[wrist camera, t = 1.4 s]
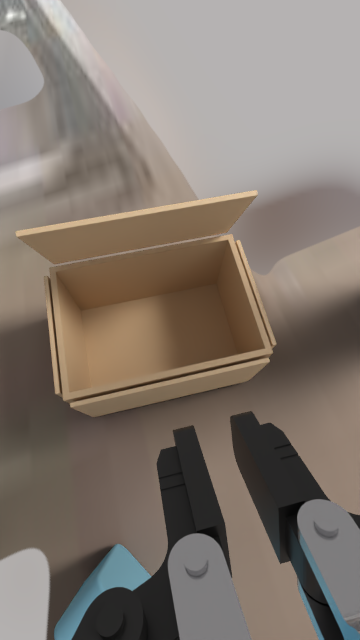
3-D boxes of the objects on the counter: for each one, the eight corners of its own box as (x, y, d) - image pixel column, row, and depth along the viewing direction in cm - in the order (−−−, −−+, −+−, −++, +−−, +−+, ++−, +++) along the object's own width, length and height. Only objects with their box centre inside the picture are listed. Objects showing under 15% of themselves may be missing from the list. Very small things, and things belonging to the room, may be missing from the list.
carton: (223, 280, 47) (237, 233, 37) (255, 380, 42) (282, 358, 32) (71, 310, 45) (42, 268, 35) (85, 420, 40) (56, 410, 29)
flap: (226, 228, 36) (256, 188, 26) (226, 232, 36) (257, 195, 26) (53, 259, 34) (15, 229, 24) (54, 264, 34) (16, 236, 24)
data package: (86, 577, 34) (46, 639, 23) (118, 539, 35) (94, 579, 24) (172, 679, 31) (174, 806, 20) (203, 634, 33) (221, 729, 22)
